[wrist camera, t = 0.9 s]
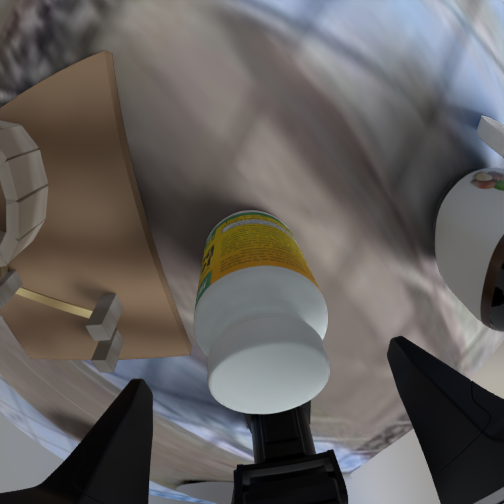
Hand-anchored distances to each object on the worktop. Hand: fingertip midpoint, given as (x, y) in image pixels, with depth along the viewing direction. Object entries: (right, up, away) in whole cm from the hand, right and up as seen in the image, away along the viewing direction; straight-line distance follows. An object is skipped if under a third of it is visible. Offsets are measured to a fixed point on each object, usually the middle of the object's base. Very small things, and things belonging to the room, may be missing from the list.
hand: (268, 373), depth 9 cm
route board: (-15, +4, +7) cm, 17 cm away
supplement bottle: (-1, +4, +8) cm, 9 cm away
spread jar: (+16, +9, +7) cm, 19 cm away
